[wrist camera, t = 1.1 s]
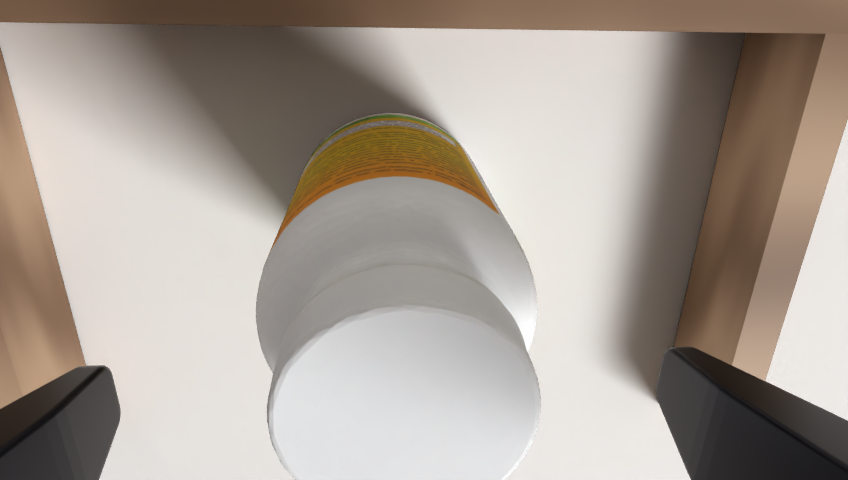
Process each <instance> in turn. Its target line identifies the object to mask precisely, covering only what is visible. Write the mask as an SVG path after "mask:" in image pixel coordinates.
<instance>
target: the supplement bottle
mask: <svg viewBox="0 0 848 480" xmlns="http://www.w3.org/2000/svg"><path fill="white" fill-rule="evenodd" d="M536 321H537V295H536V288H535V284H534V279H533V275H532V272H531V269H530V266H529V263H528V261H527V258H526V256H525V254H524V252H523V249H522V247H521V246H520V244H519V242H518V240H517V238H516V236H515V234H514V233H513V231H512V229H511V228H510V226H509V224H508V223H507V221H506V219H505V217H504V216H503V214H502V212H501V211H500V209H499V207H498V205H497V204H496V202H495V200H494V198H493V197H492V195H491V193H490V191H489V189H488V188H487V186H486V184H485V182H484V181H483V179H482V177H481V175H480V173H479V172H478V170H477V168H476V166H475V165H474V163H473V161H472V160H471V158H470V157H469V155H468V154H467V152H466V151H465V150H464V148H463V147H462V146H461V145H460V143H459V142H458V141H457V140H456V139H455V138H454V137H452V136H451V135H450V134H449V133H448V132H446V131H445V130H443V129H442V128H440V127H439V126H437V125H435V124H433V123H431V122H429V121H427V120H424V119H422V118H419V117H416V116H412V115H407V114H401V113H379V114H373V115H369V116H365V117H361V118H358V119H356V120H353V121H351V122H349V123H347V124H345V125H343V126H341V127H339V128H338V129H336V130H335V131H334V132H332V133H331V134H330V135H329V136H328V137H326V138H325V139H324V140H323V141H322V142H321V144H320V145H319V146H318V147H317V148H316V150H315V151H314V153H313V154H312V156H311V157H310V159H309V161H308V162H307V164H306V166H305V168H304V171H303V173H302V175H301V177H300V180H299V183H298V185H297V188H296V190H295V193H294V195H293V197H292V200H291V202H290V205H289V207H288V210H287V212H286V215H285V217H284V220H283V222H282V224H281V227H280V229H279V231H278V234H277V236H276V239H275V241H274V243H273V246H272V248H271V250H270V253H269V255H268V257H267V260H266V263H265V265H264V268H263V272H262V276H261V279H260V283H259V288H258V294H257V302H256V322H257V331H258V336H259V341H260V345H261V349H262V351H263V354H264V356H265V359H266V361H267V363H268V365H269V367H270V369H271V371H272V372H273V378H272V382H271V387H270V392H269V397H268V404H267V422H268V428H269V433H270V439H271V442H272V445H273V447H274V449H275V451H276V453H277V455H278V457H279V459H280V462H281V463H282V465H283V466H284V468H285V469H286V470H287V471H288V472H289V474H290V475H291V476H292V477H293V478H294V479H295V480H505V479H506V478H507V477H508V476H509V475H510V474H511V473H512V472H513V471H514V470H515V468H516V467H517V466H518V464H519V463H520V462H521V460H522V459H523V457H524V456H525V455H526V453H527V452H528V450H529V448H530V446H531V444H532V441H533V439H534V436H535V434H536V431H537V427H538V423H539V418H540V408H541V397H540V389H539V384H538V379H537V376H536V373H535V370H534V367H533V364H532V362H531V359H530V357H529V355H528V351H529V349H530V346H531V343H532V340H533V336H534V332H535V327H536Z"/></svg>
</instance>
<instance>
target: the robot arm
mask: <svg viewBox="0 0 848 480" xmlns="http://www.w3.org/2000/svg"><path fill="white" fill-rule="evenodd" d="M656 393H657V399H658V402H659V405H660V407H661V410H662V412H663V415H664V417H665V419H666V422H667V424H668V427H669V429H670V431H671V434H672V436H673V439H674V441H675V443H676V446H677V448H678V451H679V453H680V455H681V458H682V460H683V462H684V465H685V467H686V470H687V472H688V474H689V476H690V478H691V480H848V421H847V420H845V419H843V418H841V417H839V416H837V415H835V414H833V413H831V412H828V411H826V410H824V409H822V408H820V407H818V406H816V405H814V404H812V403H810V402H807V401H805V400H803V399H801V398H799V397H797V396H795V395H793V394H791V393H789V392H787V391H784V390H782V389H780V388H778V387H776V386H774V385H772V384H770V383H768V382H766V381H764V380H761V379H759V378H757V377H755V376H753V375H751V374H749V373H747V372H745V371H743V370H741V369H738V368H736V367H734V366H732V365H730V364H728V363H726V362H724V361H722V360H720V359H718V358H715V357H713V356H711V355H709V354H707V353H705V352H703V351H701V350H699V349H697V348H694V347H690V346H688V347H670V348H668V349H667V350H666V351H665V353H664V356H663V360H662V364H661V369H660V373H659V378H658V382H657V388H656ZM119 421H120V405H119V401H118V396H117V392H116V388H115V384H114V380H113V376H112V373H111V371H110V369H109V368H108V367H106V366H104V365H99V366H79V367H76V368H74V369H73V370H71V371H69V372H67V373H65V374H63V375H61V376H60V377H58V378H56V379H54V380H52V381H50V382H49V383H47V384H45V385H43V386H41V387H39V388H38V389H36V390H34V391H32V392H30V393H28V394H27V395H25V396H23V397H21V398H19V399H17V400H15V401H14V402H12V403H10V404H8V405H6V406H4V407H3V408H1V409H0V480H99V478H100V475H101V472H102V470H103V467H104V464H105V461H106V458H107V456H108V453H109V450H110V447H111V444H112V442H113V439H114V436H115V433H116V430H117V428H118V425H119Z"/></svg>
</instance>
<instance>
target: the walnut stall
mask: <svg viewBox="0 0 848 480" xmlns="http://www.w3.org/2000/svg"><path fill="white" fill-rule="evenodd" d="M0 22H27V23H98V24H170V25H241V26H313V27H384V28H456V29H527V30H599V31H670V32H742V33H746V34H745V39H744V43H743V47H742V52H741V56H740V60H739V65H738V69H737V73H736V78H735V82H734V86H733V91H732V95H731V100H730V104H729V108H728V113H727V117H726V121H725V126H724V130H723V134H722V139H721V143H720V147H719V152H718V156H717V160H716V165H715V169H714V174H713V178H712V182H711V187H710V191H709V195H708V200H707V204H706V208H705V213H704V217H703V221H702V226H701V230H700V234H699V239H698V243H697V248H696V252H695V256H694V261H693V265H692V269H691V274H690V278H689V282H688V287H687V291H686V295H685V300H684V304H683V309H682V313H681V317H680V322H679V326H678V330H677V335H676V339H675V343H674V347H688V346H690V347H694V348H697V349H699V350H701V351H703V352H705V353H707V354H709V355H711V356H713V357H715V358H718V359H720V360H722V361H724V362H726V363H728V364H730V365H732V366H734V367H736V368H738V369H741V370H743V371H745V372H747V373H749V374H751V375H753V376H755V377H757V378H759V379H761V380H764V381H765V380H766V376H767V373H768V370H769V367H770V364H771V360H772V357H773V354H774V351H775V348H776V345H777V341H778V338H779V335H780V332H781V329H782V326H783V322H784V319H785V316H786V313H787V310H788V307H789V303H790V300H791V297H792V294H793V291H794V288H795V284H796V281H797V278H798V275H799V272H800V269H801V265H802V262H803V259H804V256H805V253H806V250H807V246H808V243H809V240H810V237H811V234H812V231H813V227H814V224H815V221H816V218H817V215H818V212H819V208H820V205H821V202H822V199H823V196H824V193H825V189H826V186H827V183H828V180H829V177H830V174H831V170H832V167H833V164H834V161H835V158H836V154H837V151H838V148H839V145H840V142H841V139H842V135H843V132H844V129H845V126H846V123H847V120H848V0H0ZM79 366H86V364H85V360H84V357H83V353H82V349H81V346H80V342H79V338H78V334H77V331H76V327H75V323H74V319H73V316H72V312H71V308H70V305H69V301H68V297H67V293H66V290H65V286H64V282H63V279H62V275H61V271H60V267H59V264H58V260H57V256H56V253H55V249H54V245H53V241H52V238H51V234H50V230H49V227H48V223H47V219H46V215H45V212H44V208H43V204H42V201H41V197H40V193H39V189H38V186H37V182H36V178H35V174H34V171H33V167H32V163H31V160H30V156H29V152H28V148H27V145H26V141H25V137H24V134H23V130H22V126H21V122H20V119H19V115H18V111H17V108H16V104H15V100H14V96H13V93H12V89H11V85H10V82H9V78H8V74H7V70H6V67H5V63H4V59H3V55H2V52H1V48H0V409H1V408H3V407H4V406H6V405H8V404H10V403H12V402H14V401H15V400H17V399H19V398H21V397H23V396H25V395H27V394H28V393H30V392H32V391H34V390H36V389H38V388H39V387H41V386H43V385H45V384H47V383H49V382H50V381H52V380H54V379H56V378H58V377H60V376H61V375H63V374H65V373H67V372H69V371H71V370H73V369H74V368H76V367H79Z"/></svg>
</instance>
